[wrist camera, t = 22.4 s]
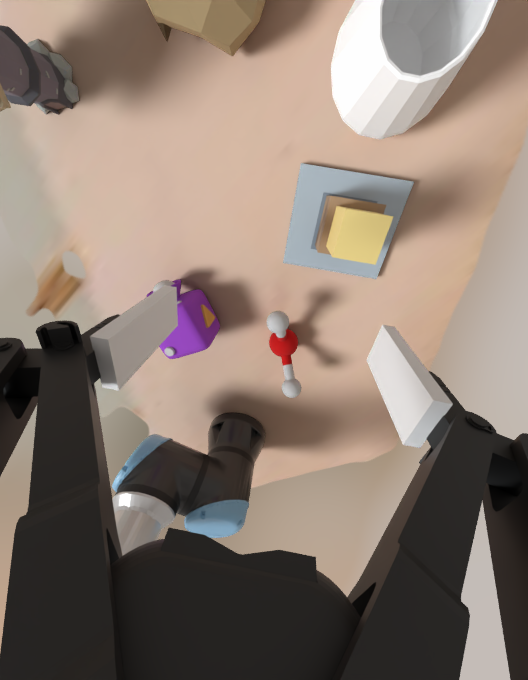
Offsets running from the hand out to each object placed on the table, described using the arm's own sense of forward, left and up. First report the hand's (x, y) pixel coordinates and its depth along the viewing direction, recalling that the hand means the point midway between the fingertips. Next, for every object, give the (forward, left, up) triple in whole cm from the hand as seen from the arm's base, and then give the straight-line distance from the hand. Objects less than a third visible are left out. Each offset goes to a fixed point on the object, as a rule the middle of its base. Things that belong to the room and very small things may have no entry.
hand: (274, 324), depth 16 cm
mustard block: (+4, -8, -23) cm, 24 cm away
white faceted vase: (+21, -8, -30) cm, 38 cm away
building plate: (+4, -8, -30) cm, 31 cm away
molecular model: (-18, -3, -30) cm, 35 cm away
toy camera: (-15, +17, -30) cm, 38 cm away
